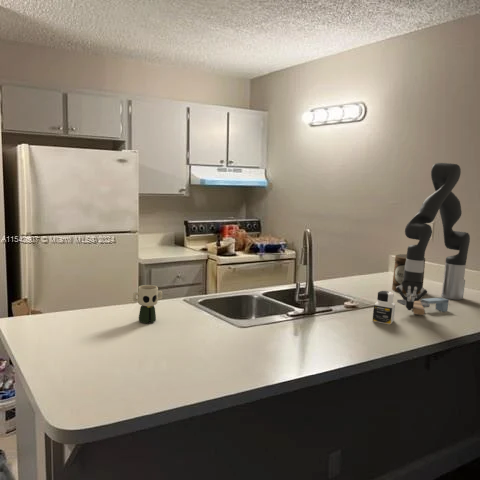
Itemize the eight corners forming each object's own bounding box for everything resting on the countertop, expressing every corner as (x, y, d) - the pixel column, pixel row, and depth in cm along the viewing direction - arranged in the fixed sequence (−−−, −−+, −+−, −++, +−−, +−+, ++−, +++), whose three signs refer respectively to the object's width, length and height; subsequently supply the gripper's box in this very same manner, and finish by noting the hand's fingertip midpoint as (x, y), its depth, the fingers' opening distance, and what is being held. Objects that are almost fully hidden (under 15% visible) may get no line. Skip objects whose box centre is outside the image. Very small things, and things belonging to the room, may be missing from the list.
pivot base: (413, 300, 224) (414, 290, 223) (429, 306, 215) (430, 296, 214) (397, 301, 220) (398, 291, 219) (412, 307, 211) (413, 297, 210)
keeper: (440, 308, 212) (441, 297, 211) (447, 311, 208) (448, 299, 208) (419, 310, 207) (421, 298, 207) (426, 312, 204) (427, 301, 203)
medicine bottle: (372, 321, 187) (374, 292, 186) (375, 317, 193) (378, 288, 192) (390, 324, 184) (393, 295, 182) (393, 320, 190) (396, 291, 189)
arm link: (407, 299, 220) (407, 295, 220) (418, 300, 219) (419, 296, 219) (412, 313, 197) (413, 309, 196) (425, 315, 195) (425, 310, 195)
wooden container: (392, 292, 239) (396, 249, 236) (391, 286, 253) (395, 246, 250) (423, 296, 234) (427, 252, 231) (420, 289, 249) (425, 248, 246)
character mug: (135, 326, 166) (136, 290, 165) (129, 320, 172) (130, 285, 171) (164, 322, 172) (165, 288, 170) (158, 317, 178) (159, 283, 176)
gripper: (398, 269, 196) (393, 309, 198) (431, 273, 193) (426, 313, 196) (396, 266, 203) (392, 305, 206) (428, 269, 200) (424, 309, 203)
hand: (409, 309), depth 201 cm, fingers closed
